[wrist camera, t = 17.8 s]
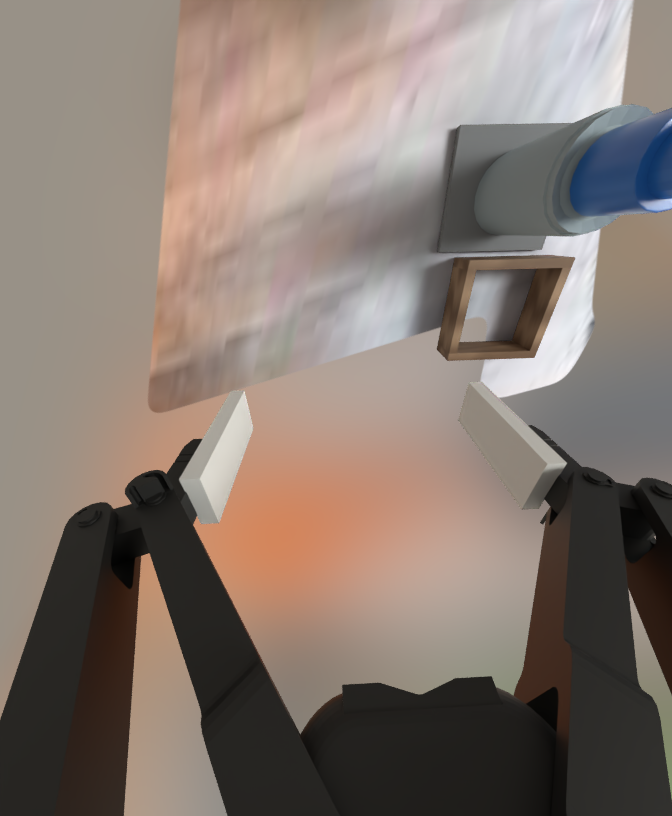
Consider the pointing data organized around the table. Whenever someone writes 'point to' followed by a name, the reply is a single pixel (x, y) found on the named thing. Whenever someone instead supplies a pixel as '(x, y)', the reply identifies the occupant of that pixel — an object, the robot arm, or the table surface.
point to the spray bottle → (581, 176)
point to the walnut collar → (532, 318)
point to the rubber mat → (467, 169)
